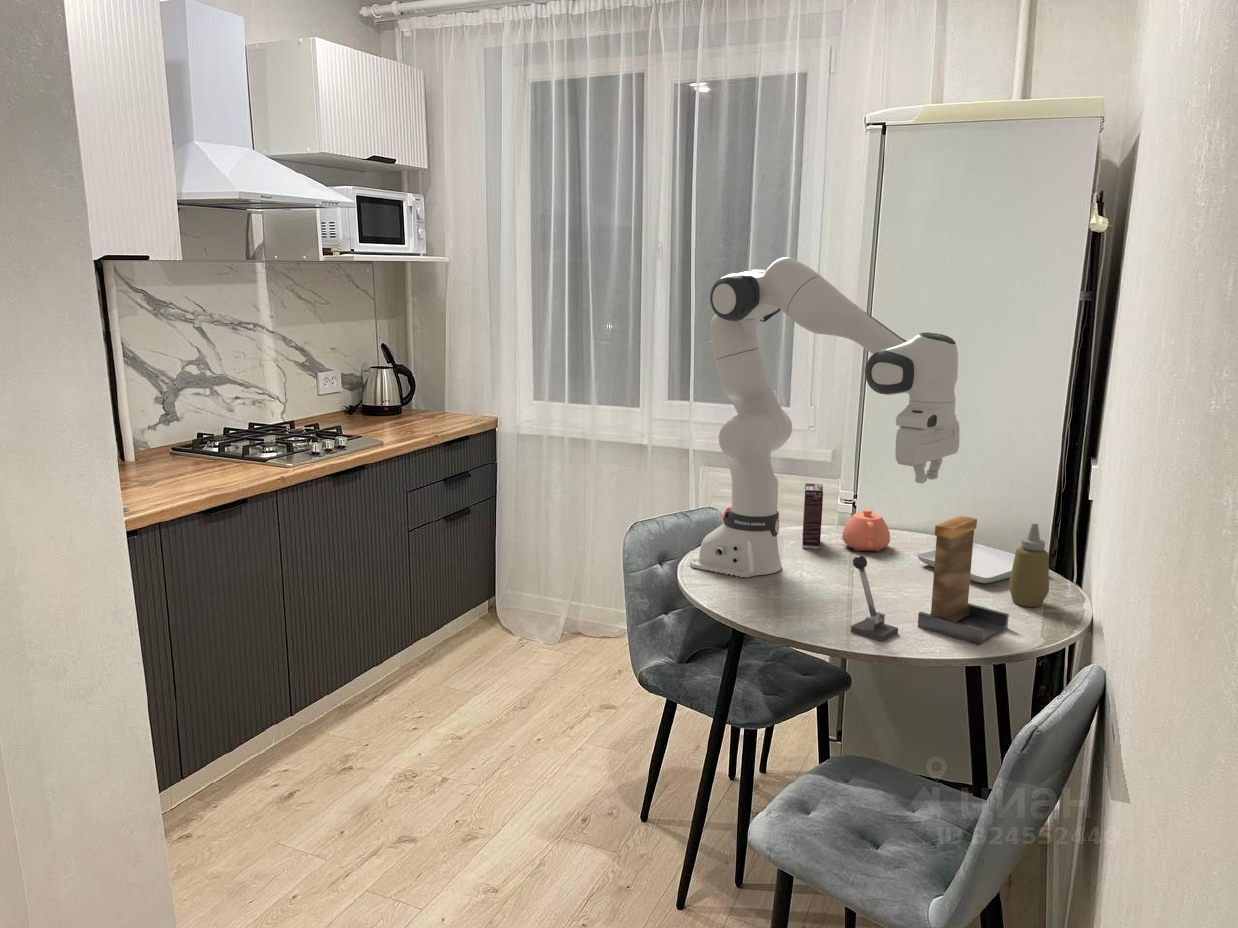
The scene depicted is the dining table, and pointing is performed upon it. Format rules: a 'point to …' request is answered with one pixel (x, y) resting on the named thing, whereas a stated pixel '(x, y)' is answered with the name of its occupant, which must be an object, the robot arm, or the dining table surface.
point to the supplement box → (812, 516)
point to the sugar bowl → (866, 532)
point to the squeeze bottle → (1030, 571)
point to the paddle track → (968, 624)
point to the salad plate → (982, 563)
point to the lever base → (874, 629)
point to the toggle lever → (866, 587)
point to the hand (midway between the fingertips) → (926, 480)
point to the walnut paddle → (953, 568)
